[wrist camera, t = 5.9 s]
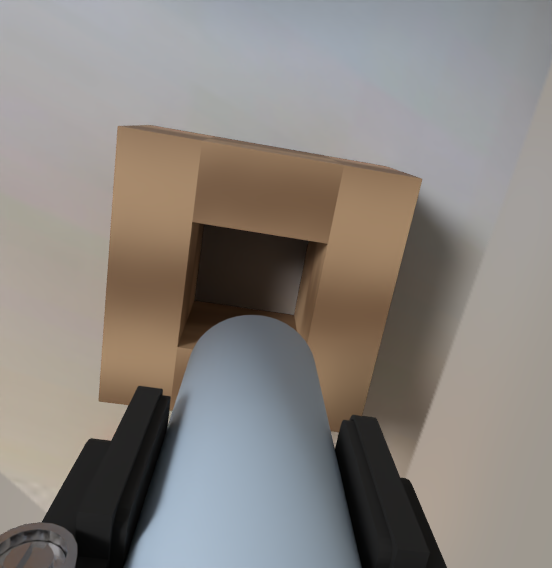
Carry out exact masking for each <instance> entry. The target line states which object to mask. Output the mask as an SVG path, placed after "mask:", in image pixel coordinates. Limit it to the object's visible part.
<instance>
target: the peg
mask: <svg viewBox="0 0 552 568" xmlns="http://www.w3.org/2000/svg"><path fill="white" fill-rule="evenodd" d="M123 568H362V567H361V562H360V558H359V553H358V549H357V545H356V540H355V536H354V532H353V527H352V523H351V518H350V514H349V510H348V505H347V501H346V496H345V492H344V488H343V483H342V479H341V474H340V470H339V466H338V461H337V457H336V453H335V448H334V444H333V439H332V435H331V431H330V426H329V422H328V417H327V413H326V409H325V404H324V400H323V396H322V391H321V387H320V382H319V378H318V374H317V369H316V365H315V361H314V357H313V354H312V352H311V350H310V348H309V346H308V344H307V343H306V341H305V340H304V339H303V338H302V336H301V335H300V334H299V333H298V332H297V331H295V330H294V329H293V328H292V327H290V326H289V325H287V324H285V323H283V322H281V321H279V320H277V319H274V318H271V317H266V316H261V315H243V316H236V317H233V318H229V319H227V320H224V321H222V322H220V323H218V324H216V325H215V326H213V327H212V328H210V329H209V330H208V331H207V332H206V333H205V334H204V335H203V336H202V337H201V338H200V339H199V340H198V342H197V343H196V345H195V346H194V348H193V350H192V353H191V355H190V358H189V361H188V364H187V367H186V371H185V374H184V377H183V380H182V383H181V386H180V389H179V392H178V396H177V399H176V402H175V405H174V408H173V411H172V414H171V417H170V421H169V424H168V427H167V431H166V434H165V438H164V441H163V444H162V447H161V450H160V453H159V457H158V460H157V463H156V466H155V469H154V472H153V475H152V479H151V482H150V485H149V488H148V491H147V494H146V497H145V501H144V504H143V507H142V510H141V513H140V516H139V519H138V523H137V526H136V529H135V532H134V535H133V538H132V541H131V545H130V548H129V551H128V554H127V557H126V560H125V563H124V567H123Z"/></svg>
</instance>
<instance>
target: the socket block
mask: <svg viewBox="0 0 552 568" xmlns="http://www.w3.org/2000/svg"><path fill="white" fill-rule="evenodd" d="M421 182H422V179H421V178H418V177H415V176H412V175H410V174H407V173H404V172H401V171H398V170H395V169H392V168H389V167H386V166H381V165H375V164H370V163H364V162H358V161H352V160H347V159H341V158H335V157H329V156H324V155H318V154H312V153H307V152H301V151H295V150H289V149H284V148H278V147H272V146H267V145H261V144H255V143H249V142H244V141H238V140H232V139H226V138H221V137H215V136H209V135H204V134H198V133H192V132H186V131H181V130H175V129H169V128H163V127H158V126H152V125H140V126H118V130H117V144H116V159H115V173H114V187H113V202H112V216H111V230H110V245H109V259H108V273H107V288H106V302H105V316H104V330H103V345H102V359H101V373H100V388H99V401H100V402H108V403H116V404H124V405H129V404H130V402H131V399H132V397H133V395H134V393H135V391H136V389H137V387H138V386H146V387H153V388H161V389H163V395H165V396H171V401H170V409H169V410H170V411H173V408H174V405H175V402H176V399H177V396H178V392H179V389H180V386H181V383H182V380H183V377H184V374H185V371H186V367H187V364H188V361H189V358H190V355H191V353H192V350H193V348H194V346H195V345H196V343H197V342H198V340H199V339H200V338H201V337H202V336H203V335H204V334H205V333H206V332H207V331H208V330H209V329H210V328H212V327H213V326H215V325H216V324H218V323H220V322H222V321H224V320H227V319H229V318H233V317H236V316H243V315H261V316H266V317H271V318H274V319H277V320H279V321H281V322H283V323H285V324H287V325H289V326H290V327H292V328H293V329H294V330H295V331H297V332H298V333H299V334H300V335H301V336H302V338H303V339H304V340H305V341H306V343H307V344H308V346H309V348H310V350H311V352H312V354H313V357H314V361H315V365H316V369H317V374H318V378H319V382H320V387H321V391H322V396H323V400H324V404H325V409H326V413H327V417H328V422H329V426H330V431H334V432H339V430H340V426H341V423H342V421H343V420H350V417H351V416H352V415H359V416H362V414H363V410H364V406H365V402H366V398H367V394H368V390H369V386H370V382H371V378H372V375H373V371H374V367H375V363H376V359H377V355H378V351H379V347H380V343H381V339H382V335H383V331H384V327H385V324H386V320H387V316H388V312H389V308H390V304H391V300H392V296H393V292H394V288H395V284H396V280H397V276H398V272H399V269H400V265H401V261H402V257H403V253H404V249H405V245H406V241H407V237H408V233H409V229H410V225H411V221H412V218H413V214H414V210H415V206H416V202H417V198H418V194H419V190H420V186H421ZM204 224H208V225H214V226H220V227H226V228H233V229H239V230H245V231H251V232H258V233H264V234H270V235H276V236H283V237H289V238H295V239H301V240H308V246H307V251H306V256H305V261H304V267H303V272H302V277H301V282H300V287H299V292H298V298H297V303H296V308H295V313H294V315H289V314H283V313H276V312H269V311H262V310H255V309H249V308H242V307H235V306H228V305H221V304H215V303H208V302H201V301H194V299H195V292H196V284H197V276H198V268H199V260H200V252H201V244H202V237H203V229H204Z"/></svg>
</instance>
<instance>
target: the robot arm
mask: <svg viewBox="0 0 552 568" xmlns="http://www.w3.org/2000/svg"><path fill="white" fill-rule="evenodd" d="M170 401H171V396H165V395H163V389H161V388H153V387H146V386H138V387H137V389H136V391H135V393H134V395H133V397H132V399H131V402H130V404H129V406H128V408H127V410H126V412H125V414H124V416H123V418H122V420H121V422H120V424H119V426H118V428H117V430H116V432H115V434H114V437H113V439H112V441H108V440H100V439H92V438H91V439H89V440H88V441H87V443H86V444H85V446H84V448H83V450H82V451H81V453H80V455H79V457H78V458H77V460H76V462H75V464H74V466H73V467H72V469H71V471H70V473H69V474H68V476H67V478H66V480H65V482H64V483H63V485H62V487H61V489H60V490H59V492H58V494H57V496H56V498H55V499H54V501H53V503H52V505H51V506H50V508H49V510H48V512H47V513H46V515H45V517H44V519H43V521H42V522H38V523H31V524H24V525H21V526H18V527H16V528H13V529H10V530H8V531H7V532H5V533H3V534H1V535H0V568H123V567H124V563H125V560H126V557H127V554H128V551H129V548H130V545H131V541H132V538H133V535H134V532H135V529H136V526H137V523H138V519H139V516H140V513H141V510H142V507H143V504H144V501H145V497H146V494H147V491H148V488H149V485H150V482H151V479H152V475H153V472H154V469H155V466H156V463H157V460H158V457H159V453H160V450H161V447H162V444H163V441H164V438H165V434H166V431H167V426H168V418H169V409H170ZM335 453H336V457H337V461H338V466H339V470H340V474H341V479H342V483H343V488H344V492H345V496H346V501H347V505H348V510H349V514H350V518H351V523H352V527H353V532H354V536H355V540H356V545H357V549H358V553H359V558H360V562H361V567H362V568H447V567H446V564H445V562H444V559H443V557H442V555H441V552H440V550H439V548H438V545H437V543H436V540H435V538H434V536H433V533H432V531H431V529H430V526H429V524H428V522H427V519H426V517H425V514H424V512H423V510H422V507H421V505H420V503H419V500H418V498H417V496H416V493H415V491H414V488H413V486H412V484H411V482H410V481H409V480H408V479H406V478H400V476H399V474H398V471H397V469H396V466H395V464H394V461H393V458H392V456H391V453H390V451H389V448H388V446H387V443H386V441H385V438H384V436H383V433H382V431H381V428H380V426H379V423H378V421H377V419H376V418H374V417H367V416H359V415H352V416H351V417H350V420H343V421H342V423H341V426H340V430H339V435H338V439H337V443H336V447H335Z"/></svg>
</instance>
